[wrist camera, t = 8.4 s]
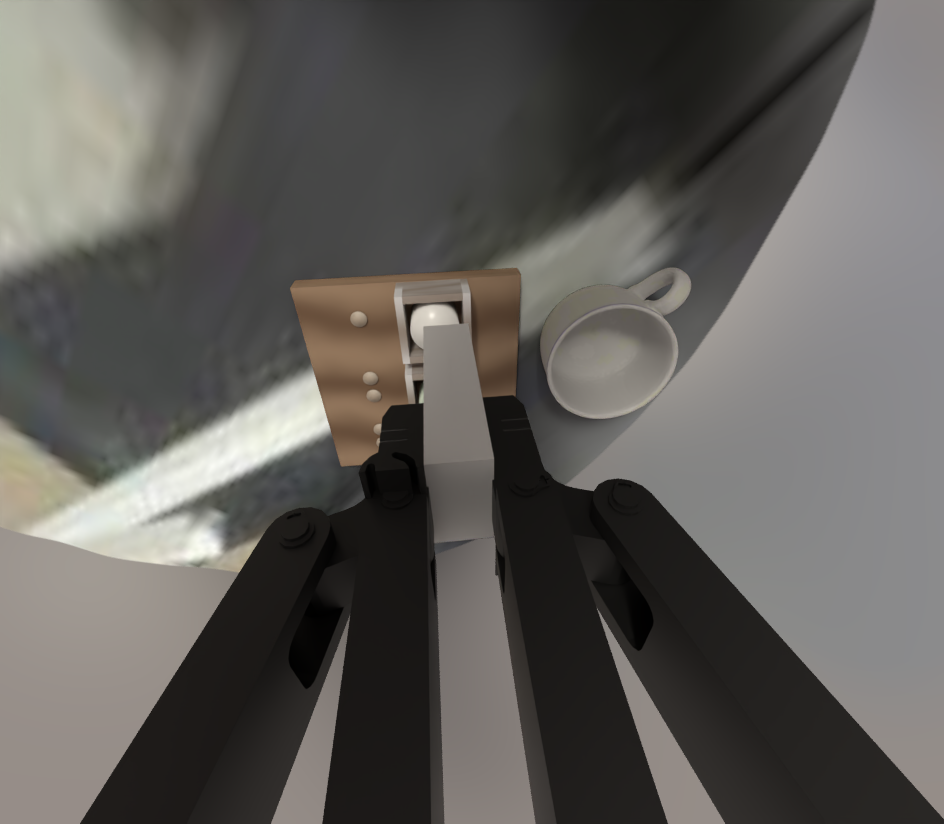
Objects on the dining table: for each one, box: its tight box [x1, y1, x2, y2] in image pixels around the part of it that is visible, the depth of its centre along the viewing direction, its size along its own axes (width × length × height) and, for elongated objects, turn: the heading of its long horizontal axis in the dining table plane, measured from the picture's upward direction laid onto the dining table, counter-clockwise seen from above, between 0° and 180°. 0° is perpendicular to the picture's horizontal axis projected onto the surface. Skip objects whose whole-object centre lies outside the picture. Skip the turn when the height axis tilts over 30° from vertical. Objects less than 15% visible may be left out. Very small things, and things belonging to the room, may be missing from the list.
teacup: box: [540, 268, 691, 419], centre depth 38 cm, size 14×11×8 cm
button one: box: [410, 301, 459, 349], centre depth 36 cm, size 4×4×3 cm
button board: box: [290, 268, 521, 466], centre depth 41 cm, size 20×19×5 cm
